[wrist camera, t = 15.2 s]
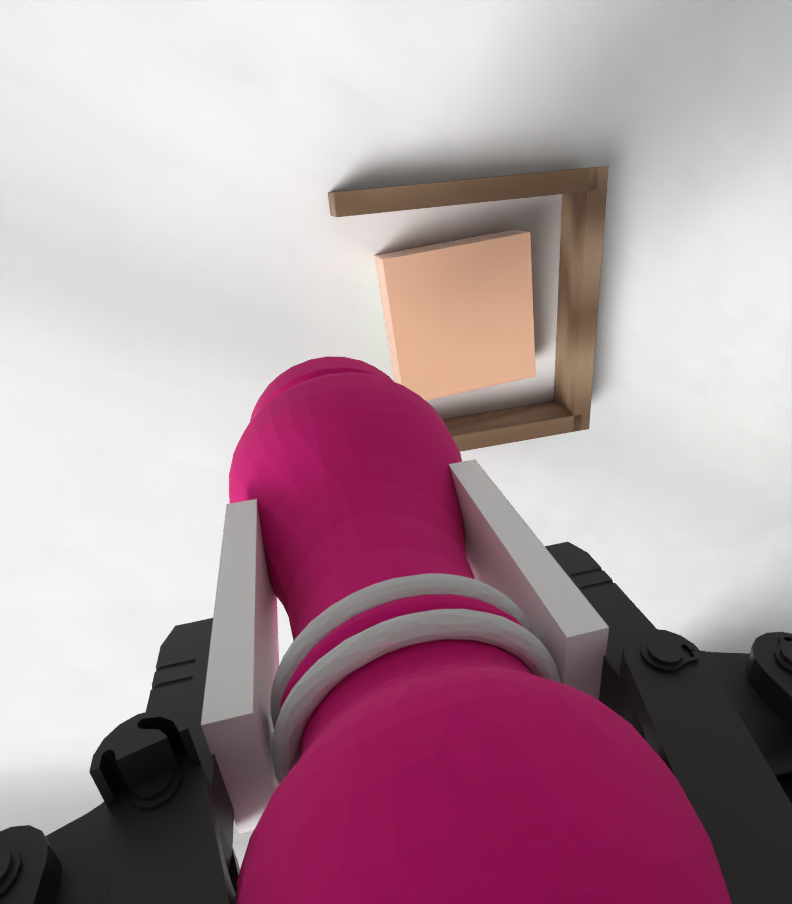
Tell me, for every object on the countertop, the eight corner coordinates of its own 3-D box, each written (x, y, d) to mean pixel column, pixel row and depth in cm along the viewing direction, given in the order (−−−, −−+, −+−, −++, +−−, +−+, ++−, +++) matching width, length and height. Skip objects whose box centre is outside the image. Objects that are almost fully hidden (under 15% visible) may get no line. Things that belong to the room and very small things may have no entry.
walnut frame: (327, 192, 32) (333, 192, 29) (581, 168, 34) (608, 165, 31) (360, 449, 39) (367, 467, 36) (568, 413, 41) (588, 429, 38)
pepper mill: (364, 541, 23) (690, 1615, 6) (200, 473, 21) (-185, 2207, 3) (457, 398, 22) (1368, 1307, 4) (293, 303, 19) (849, 2045, 1)
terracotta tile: (373, 254, 34) (382, 259, 31) (510, 229, 35) (530, 232, 32) (394, 390, 38) (404, 405, 35) (517, 363, 39) (535, 376, 36)
